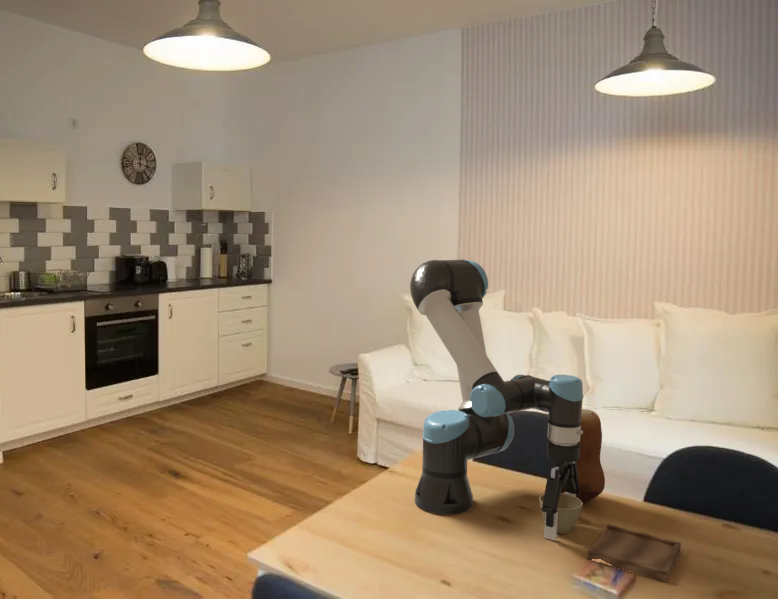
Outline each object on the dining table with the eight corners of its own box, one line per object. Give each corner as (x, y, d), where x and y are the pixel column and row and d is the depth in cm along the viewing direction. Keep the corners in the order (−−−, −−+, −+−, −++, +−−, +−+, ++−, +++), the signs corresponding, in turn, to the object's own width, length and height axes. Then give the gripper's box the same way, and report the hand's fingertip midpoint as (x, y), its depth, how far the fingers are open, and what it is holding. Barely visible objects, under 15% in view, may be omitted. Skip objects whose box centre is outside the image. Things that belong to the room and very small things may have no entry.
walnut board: (587, 559, 140) (587, 550, 140) (607, 532, 153) (608, 524, 153) (666, 582, 131) (666, 572, 131) (680, 551, 145) (680, 542, 144)
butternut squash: (575, 487, 181) (579, 400, 179) (614, 505, 170) (619, 412, 167) (539, 497, 174) (543, 406, 171) (577, 516, 162) (581, 418, 160)
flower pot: (583, 541, 149) (584, 511, 148) (538, 536, 151) (539, 506, 150) (579, 522, 159) (580, 494, 158) (537, 518, 161) (538, 490, 160)
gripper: (562, 458, 140) (557, 553, 142) (594, 431, 161) (590, 514, 163) (529, 451, 145) (525, 543, 147) (565, 426, 165) (561, 507, 167)
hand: (559, 528), depth 155 cm, fingers open, 12 cm apart
